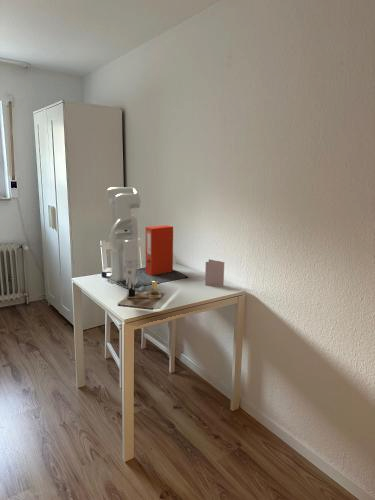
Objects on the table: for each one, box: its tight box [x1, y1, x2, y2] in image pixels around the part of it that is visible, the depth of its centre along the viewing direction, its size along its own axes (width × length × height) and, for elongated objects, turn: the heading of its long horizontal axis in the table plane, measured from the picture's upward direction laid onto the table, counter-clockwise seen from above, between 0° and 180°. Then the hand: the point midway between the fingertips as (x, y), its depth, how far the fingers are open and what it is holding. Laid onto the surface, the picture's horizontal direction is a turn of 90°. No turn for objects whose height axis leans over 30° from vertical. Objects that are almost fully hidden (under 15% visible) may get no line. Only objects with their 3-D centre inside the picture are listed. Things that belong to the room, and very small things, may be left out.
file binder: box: [145, 224, 174, 276], centre depth 245 cm, size 8×17×32 cm, turn 127°
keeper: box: [137, 285, 147, 292], centre depth 198 cm, size 2×7×4 cm, turn 165°
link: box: [126, 291, 162, 299], centre depth 195 cm, size 18×6×2 cm, turn 98°
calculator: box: [100, 267, 112, 278], centre depth 240 cm, size 11×4×15 cm
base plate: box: [117, 289, 166, 311], centre depth 193 cm, size 19×22×2 cm
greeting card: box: [204, 259, 225, 286], centre depth 221 cm, size 11×7×15 cm, turn 54°
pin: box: [151, 279, 158, 295], centre depth 195 cm, size 3×3×9 cm
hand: (131, 296), depth 191 cm, fingers closed
